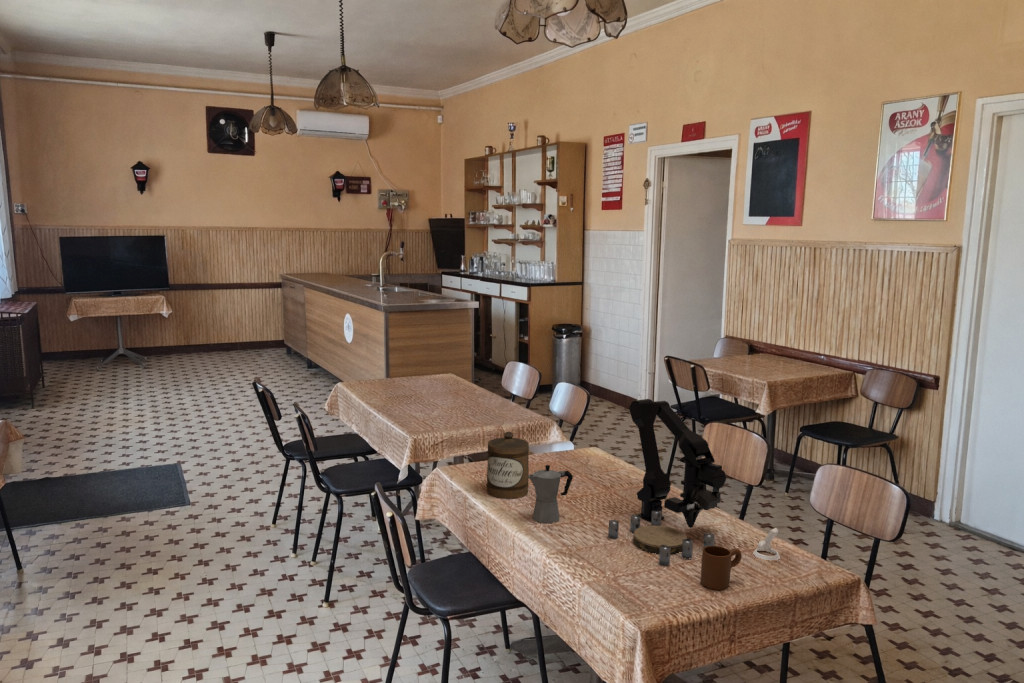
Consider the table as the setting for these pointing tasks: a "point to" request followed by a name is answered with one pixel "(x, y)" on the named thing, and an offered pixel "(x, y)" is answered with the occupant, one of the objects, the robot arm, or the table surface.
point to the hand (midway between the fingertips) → (690, 527)
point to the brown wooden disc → (658, 538)
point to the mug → (718, 566)
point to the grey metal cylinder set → (664, 549)
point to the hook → (767, 546)
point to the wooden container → (508, 467)
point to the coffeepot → (548, 493)
